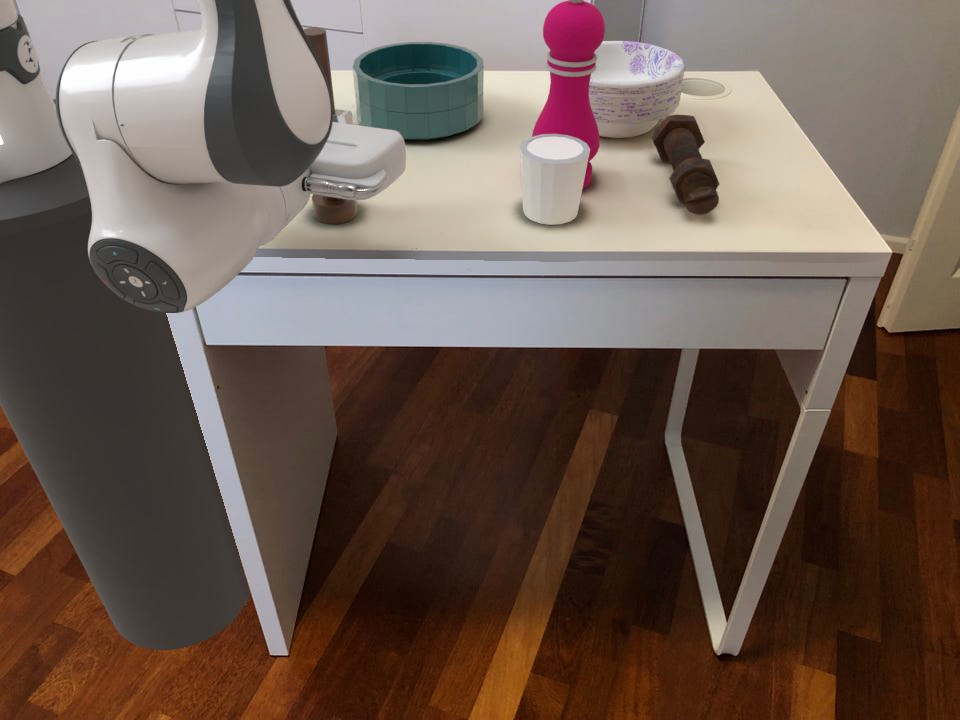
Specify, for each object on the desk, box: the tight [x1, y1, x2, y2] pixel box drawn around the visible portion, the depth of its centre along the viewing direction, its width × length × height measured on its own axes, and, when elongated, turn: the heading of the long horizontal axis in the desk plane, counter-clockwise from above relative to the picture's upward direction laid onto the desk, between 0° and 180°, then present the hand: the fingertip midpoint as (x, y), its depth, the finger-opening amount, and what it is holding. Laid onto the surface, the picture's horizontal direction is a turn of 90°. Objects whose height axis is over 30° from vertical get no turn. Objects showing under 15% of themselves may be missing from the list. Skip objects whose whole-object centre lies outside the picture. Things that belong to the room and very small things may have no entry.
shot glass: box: [519, 134, 590, 226], centre depth 79 cm, size 7×7×7 cm
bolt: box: [651, 114, 720, 215], centre depth 84 cm, size 6×5×15 cm
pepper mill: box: [531, 0, 606, 190], centre depth 81 cm, size 7×7×20 cm
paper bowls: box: [589, 40, 686, 139], centre depth 96 cm, size 15×15×8 cm
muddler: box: [303, 27, 358, 225], centre depth 75 cm, size 4×4×18 cm
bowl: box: [352, 41, 485, 141], centre depth 98 cm, size 16×16×7 cm
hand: (328, 115), depth 75 cm, fingers closed on muddler, 2 cm apart
